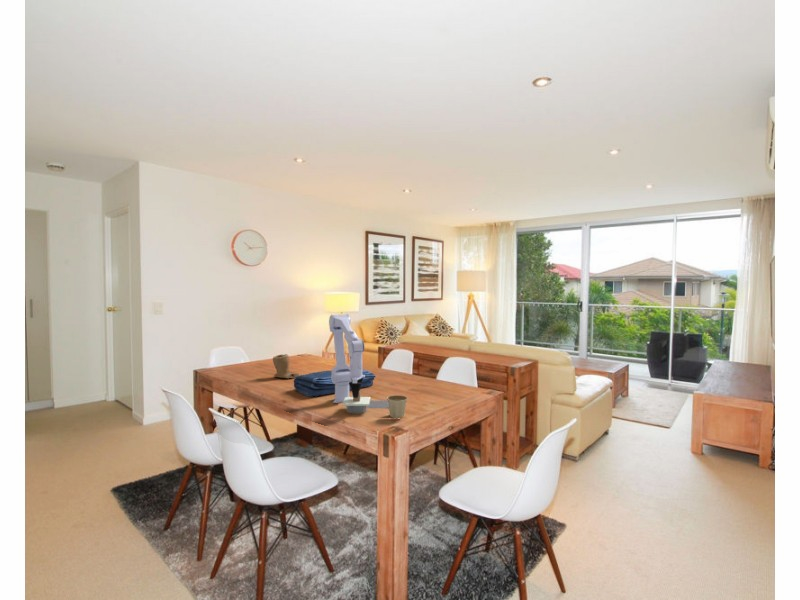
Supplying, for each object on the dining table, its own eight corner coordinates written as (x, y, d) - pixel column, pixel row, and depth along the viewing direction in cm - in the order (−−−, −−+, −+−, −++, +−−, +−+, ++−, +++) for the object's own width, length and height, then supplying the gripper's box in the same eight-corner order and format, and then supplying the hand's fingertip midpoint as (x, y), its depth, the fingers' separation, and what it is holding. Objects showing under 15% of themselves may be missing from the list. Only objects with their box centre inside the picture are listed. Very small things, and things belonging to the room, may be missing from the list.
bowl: (347, 408, 201) (347, 399, 201) (366, 408, 201) (366, 399, 201) (345, 414, 192) (345, 404, 192) (365, 414, 192) (365, 404, 192)
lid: (345, 398, 203) (345, 388, 203) (370, 398, 203) (370, 388, 203) (342, 405, 191) (342, 394, 191) (368, 405, 191) (368, 394, 191)
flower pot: (407, 413, 194) (407, 394, 194) (408, 420, 184) (408, 400, 184) (386, 413, 194) (386, 395, 193) (386, 420, 184) (386, 400, 184)
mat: (368, 401, 213) (368, 400, 213) (394, 401, 213) (394, 400, 213) (366, 409, 200) (366, 408, 200) (394, 409, 201) (394, 408, 200)
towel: (376, 386, 248) (376, 368, 247) (312, 399, 220) (311, 379, 219) (353, 379, 266) (353, 363, 265) (291, 390, 238) (290, 372, 237)
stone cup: (269, 378, 269) (268, 354, 268) (283, 374, 279) (283, 352, 278) (285, 381, 260) (285, 356, 260) (299, 377, 271) (299, 354, 270)
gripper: (363, 369, 189) (363, 399, 189) (366, 363, 203) (366, 391, 204) (347, 369, 189) (348, 399, 189) (351, 363, 203) (351, 391, 204)
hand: (356, 395), depth 197 cm, fingers open, 7 cm apart
